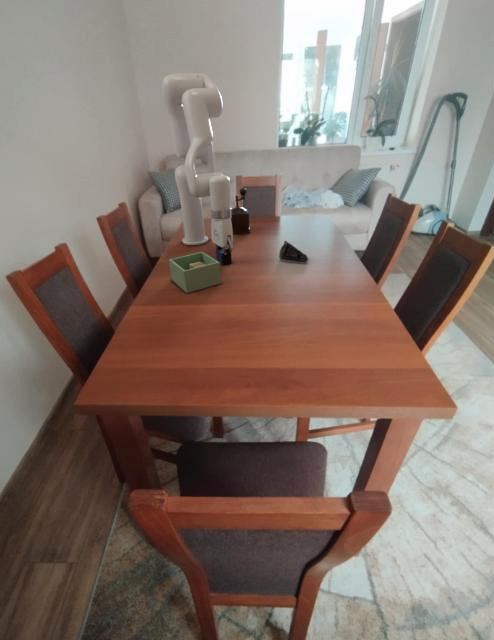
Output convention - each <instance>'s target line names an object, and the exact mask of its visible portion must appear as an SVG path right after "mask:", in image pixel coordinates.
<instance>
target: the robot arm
mask: <svg viewBox="0 0 494 640" xmlns="http://www.w3.org/2000/svg"><path fill="white" fill-rule="evenodd" d="M161 93H162V94H161V95H162V99H163V103H164V106H165V108H166V111H167V114H168V117H169V120H170V126H171V132H172V140H173V147H174V152H175V156H176V158H177V159H178V160H179V161H184V164H181V165H179V166H177V168H176V169H175V171H174V179H175V183H176V187H177V190H178V195H179V202H180V209H181V215H182V216H181V217H182V224H183V234H184V237H183V238H182V239H181V242H182V244H183V245H187V246H200V245H205V244H207V243H208V242H209V237H208V236H207V235H206V233H205V223H204V222H205V220H204V212H203V211H204V210H203V209H204V208H203V202H202V201H203V200H202V198H205V197H209V200H210V215H211V221H210V223H211V225H210V231H211V242H212V243H213V244H214V245H215V251H216V250H220V249H223V251H224V254H223V261H224V265H228V264H231V263H232V262H231V257H232V251H233V250H234V235H233V230H232V222H231V210H232V197H231V196H232V195H231V180H230V177H229V176H227V175H224V174H223V173H222V172H219V171H217V172H216V166H215V155H214V145H213V142H214V134H213V130H212V124H211V120H210V119H215V118H219V117H221V115H222V113H223V107H224V105H223V97H222V94H221V93H220V90H219V89H218V86H217V85H216V84H215V83H214V82H213V80H212V79H211V78H210V77H209V76H208V75H207V74H206V73H203V72H200V73H199V72H193V73H192V72H191V73H186V72H184V73H183V72H182V73H180V72H179V73H170V74H167V75H165V77H164V78H163V79H162V83H161ZM195 160H200V162H197V163H195ZM226 249H227V250H226Z"/></svg>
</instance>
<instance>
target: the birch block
mask: <svg viewBox="0 0 494 640" xmlns="http://www.w3.org/2000/svg"><path fill="white" fill-rule="evenodd" d="M204 265H205V264H203V263H202V262H201V261H200V262H196V263H191V264H189V267H190V269H192V268H196V267H200V266H204Z"/></svg>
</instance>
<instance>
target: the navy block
mask: <svg viewBox="0 0 494 640" xmlns="http://www.w3.org/2000/svg"><path fill="white" fill-rule="evenodd" d="M227 249H228V248H226V250H227ZM223 254H224V251H223V249H220V250H216V249H215V257H216V259H215V260H217V261H218V262H220V266H221V265H222V266H224V265H225V264H224V261H223ZM232 262H233V258H232V256H231V263H232Z"/></svg>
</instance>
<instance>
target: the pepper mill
mask: <svg viewBox="0 0 494 640" xmlns="http://www.w3.org/2000/svg"><path fill="white" fill-rule="evenodd" d="M238 192H239V194H240V198H239V195H235V202H236V203H235V204H236V205H235V207H233V208H231V222H232V230H233V236H234V235H245V234H247V235H248V234H250V230H251V228H250V214H249V210H248V209H247V208H245V206H244V205H243V207H242V206H239V202H240V201H242V200H243V201H244V200H245V199H247V197H246V195H247V194H248V190H247V188H243V187H242V188H239V191H238Z"/></svg>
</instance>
